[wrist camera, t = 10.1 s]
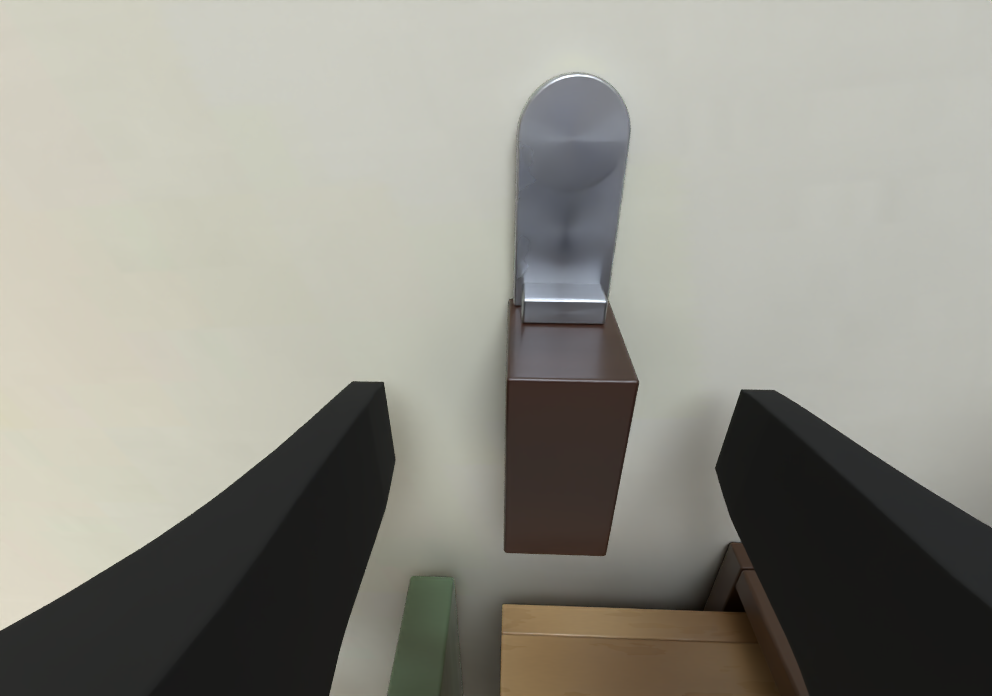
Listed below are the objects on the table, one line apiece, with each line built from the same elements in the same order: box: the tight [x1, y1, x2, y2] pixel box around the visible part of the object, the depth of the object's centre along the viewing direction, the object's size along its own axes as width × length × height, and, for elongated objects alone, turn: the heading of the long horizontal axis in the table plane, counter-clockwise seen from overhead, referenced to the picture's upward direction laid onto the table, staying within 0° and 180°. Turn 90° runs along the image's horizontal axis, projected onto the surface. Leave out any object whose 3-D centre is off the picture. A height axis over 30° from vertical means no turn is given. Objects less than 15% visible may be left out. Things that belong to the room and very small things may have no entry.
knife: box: [504, 72, 639, 556], centre depth 8 cm, size 8×2×3 cm, turn 0°
